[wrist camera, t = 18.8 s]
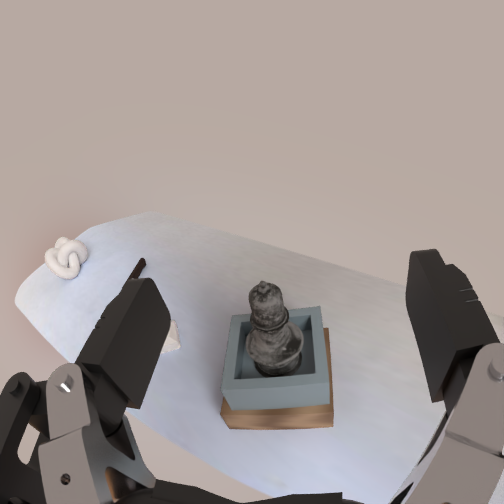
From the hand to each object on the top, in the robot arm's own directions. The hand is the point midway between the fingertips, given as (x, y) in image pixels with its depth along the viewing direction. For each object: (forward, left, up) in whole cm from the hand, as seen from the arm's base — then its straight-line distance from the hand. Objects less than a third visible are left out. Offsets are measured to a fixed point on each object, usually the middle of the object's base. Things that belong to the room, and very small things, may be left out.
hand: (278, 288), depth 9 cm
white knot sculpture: (+41, -62, -28) cm, 79 cm away
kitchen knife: (+22, -46, -28) cm, 58 cm away
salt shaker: (-1, -14, -22) cm, 26 cm away
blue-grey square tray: (-1, -14, -24) cm, 28 cm away
